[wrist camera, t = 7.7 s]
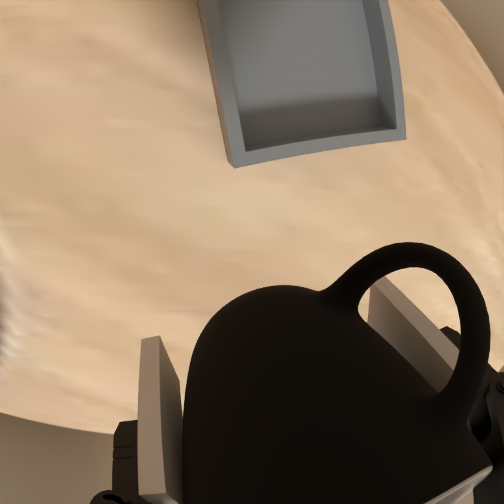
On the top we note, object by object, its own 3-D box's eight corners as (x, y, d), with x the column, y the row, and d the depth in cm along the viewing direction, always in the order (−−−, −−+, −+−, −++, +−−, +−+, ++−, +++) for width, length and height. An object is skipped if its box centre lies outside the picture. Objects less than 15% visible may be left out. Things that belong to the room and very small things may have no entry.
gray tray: (227, 161, 25) (234, 168, 22) (190, -32, 17) (193, -47, 14) (386, 134, 27) (406, 139, 24) (359, -33, 19) (376, -42, 16)
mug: (296, 410, 17) (358, 558, 9) (145, 384, 14) (158, 590, 5) (422, 237, 14) (585, 370, 5) (262, 142, 10) (560, 331, 2)
